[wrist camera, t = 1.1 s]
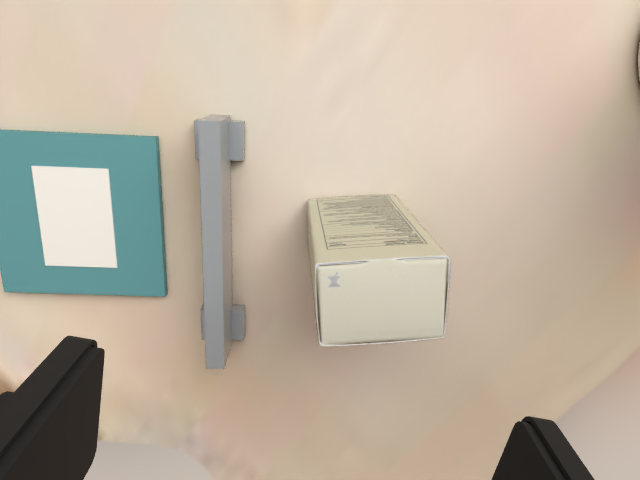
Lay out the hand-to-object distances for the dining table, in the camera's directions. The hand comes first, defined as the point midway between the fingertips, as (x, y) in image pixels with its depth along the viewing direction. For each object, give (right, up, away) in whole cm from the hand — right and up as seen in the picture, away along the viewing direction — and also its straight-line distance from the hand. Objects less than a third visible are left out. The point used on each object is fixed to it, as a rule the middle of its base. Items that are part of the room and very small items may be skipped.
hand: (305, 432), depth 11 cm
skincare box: (+3, +5, +23) cm, 24 cm away
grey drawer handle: (-6, +5, +23) cm, 24 cm away
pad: (-16, +6, +22) cm, 28 cm away
